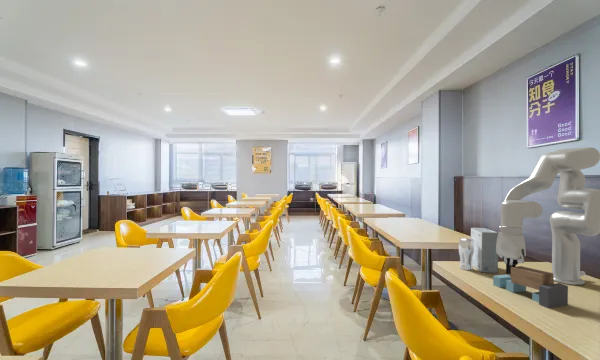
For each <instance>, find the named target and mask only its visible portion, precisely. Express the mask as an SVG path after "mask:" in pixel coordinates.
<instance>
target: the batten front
mask: <svg viewBox="0 0 600 360" xmlns="http://www.w3.org/2000/svg"><path fill="white" fill-rule="evenodd" d="M505 288H506V289H505V290H506V291H507V290H508V292H510V293H512V292H513V294H514V293H515V292H516V293H522V292H523V293H524V292H527V286H523V285H519V284H516V283H512V282H511V280H506V287H505Z"/></svg>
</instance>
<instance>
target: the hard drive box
mask: <svg viewBox="0 0 600 360" xmlns="http://www.w3.org/2000/svg"><path fill="white" fill-rule="evenodd" d="M498 233H499V232H497V231H494V230H491V229H489V228H486V227H471V228H470V239H473V240H474V254H473V259H472V266H473V268H475V269H477V270H478V271H479V272H481V273H490V274H499V273H498V272H499V271H498V269H499V256H498V254H497V253H496V244H497V237H498Z"/></svg>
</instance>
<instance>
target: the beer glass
mask: <svg viewBox="0 0 600 360" xmlns="http://www.w3.org/2000/svg"><path fill="white" fill-rule="evenodd" d="M458 254H459V260H460V262H459V269H460V270H464V271H473V270H474V266H473V265H472V259H473V254H474V240H473V239H471V238H468V237H467V238H465V237H462V238H461V237H460V238H459V240H458Z"/></svg>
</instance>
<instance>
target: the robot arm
mask: <svg viewBox="0 0 600 360" xmlns="http://www.w3.org/2000/svg"><path fill="white" fill-rule="evenodd" d="M599 162H600V151H599V150H598V149H597V148H595V147H587V146H586V147H576V148H561V149H558V150H553V152H552V151H551V152H550V151H549V152H546V153H545V152H544V154H542V155H540V157H539V158H538V160H537V162H536V164H535V166H534V168H533V169H532V171H531V173H530V175H529V176H528V178H527V179H525V180H523V181H522V182H520V183H519V184H517V185H515V186H514V187H512V189H510V190H509V192H508V193H507V195H506V197H505V199H504V201H502V202H501V203H500V225H499V226H498V229H500V231H498V232H497V233H498V237H497V244H496V253H497V254H498V258H500V259H502V260H503V262H504V264H505V275H509V276H511V268H510V267H517V265H518V264H525V259H526V252H527V250H526V249H527V248H526V241H525V236H524V235H523V227H524V226H523V223H524V222H523V219H528V220H533V219H534V220H535V219H537V218H539V217H541V216H542V214H543V213H544V212H543V211H544V209H543V207H542V205H541V204H540V203H539V202H536V201H534V200H523V199H524V198H526V197H528V196H530V195H533V194H536V193H539V192H542V191H545V190H548V189H550V188H551V187H552V185H553V183H554V182H555V179H556V178H557V176H558V175H559V186H558V192H557V200H556V201H557V204H558V205H559V207H561V208H565V209H573V210H582V211H583V210H584V212H576V211H570V210H558V211H557V210H556V211H554V212H553V213H552V214H550V217H549V225H550V229H551V237H552V241H551V243H552V244H551V249H552V250H551V273H553V276H554V282H557V283H560V284H564V285H573V286H581V285H585V283H586V282H585V280H584V279H583V278H581V277H583V276H586V272H585V271H583V270H582V271H581V241H580V239H579V238H578V236H577V235H583V236H590V237H594V236H598V235H600V189H597V188H589V187H588V188H586V187H585V186H586V176H585V175H584V173H583V172H582V171H581V170H585V169H589V168H592V167H595V166H596V165H597V164H599Z"/></svg>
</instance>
